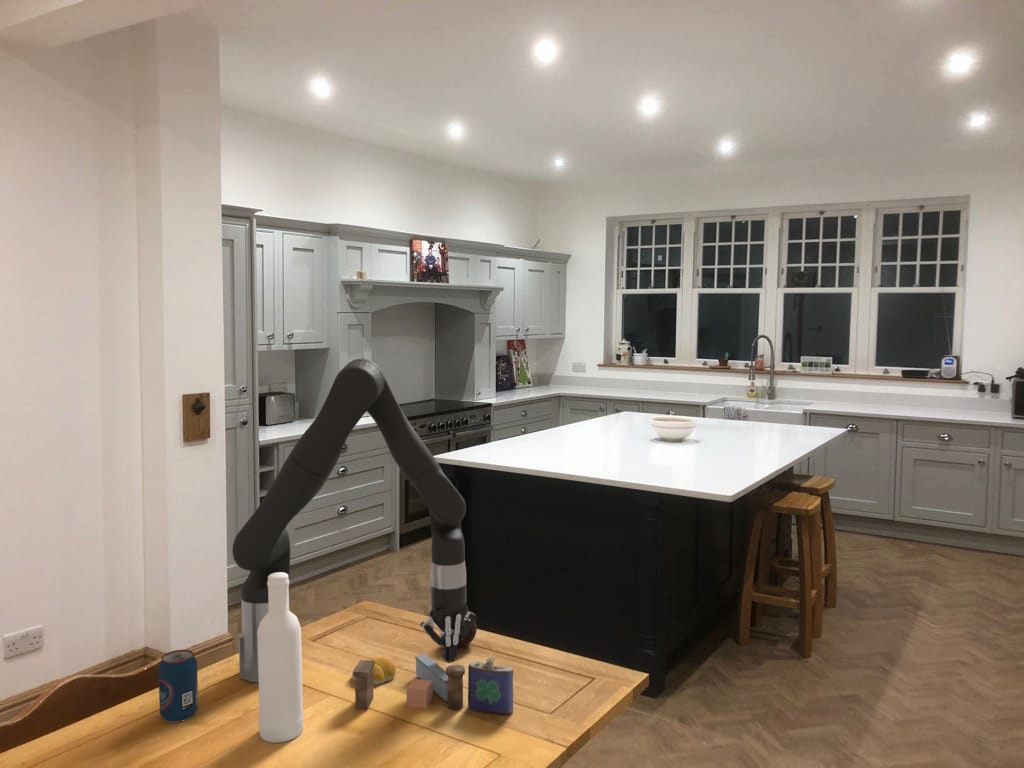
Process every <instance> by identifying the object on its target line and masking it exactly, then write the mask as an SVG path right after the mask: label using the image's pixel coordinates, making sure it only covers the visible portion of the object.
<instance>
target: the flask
mask: <svg viewBox="0 0 1024 768" xmlns="http://www.w3.org/2000/svg"><path fill="white" fill-rule="evenodd" d="M495 660H496V659H495V657H492V656H491V657H488V658H486V662H485V663H483V662H481V661H480V660H477V661H475V662H474V661H473V662H470V663H469V664H468V668H467V672H468V673H467V674H468V677H467V679H468V681H467V682H468V683H467V684H468V685H467V686H468V687H467V688H468V689H467V707H468V710H469V711H471V712H475V713H479V714H489V715H495V716H496V715H498V716H511V715H512V714H513V712H514V669H513V667H512V666H507V665H506V666H503V665H501V666H500V665H495V664H494V661H495Z"/></svg>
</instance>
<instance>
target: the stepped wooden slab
mask: <svg viewBox="0 0 1024 768" xmlns="http://www.w3.org/2000/svg"><path fill="white" fill-rule="evenodd" d="M356 665H357V666H356ZM356 665H355V667H356V668H355V667H354V668H355V670H354V669H353V670H354V671H353V670H352V674H353V675H352V677H353V676H355V681H354V692H355V693H354V695H355V702H354V703H355V710H356V711H369V710H368V709H369V708H370V706H371V704H372V702H373V700H374V686H373V667H374V665H375V660H371V659H369V660H368V659H365V660H364V659H360V660H359V661H358V663H357V664H356Z"/></svg>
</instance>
